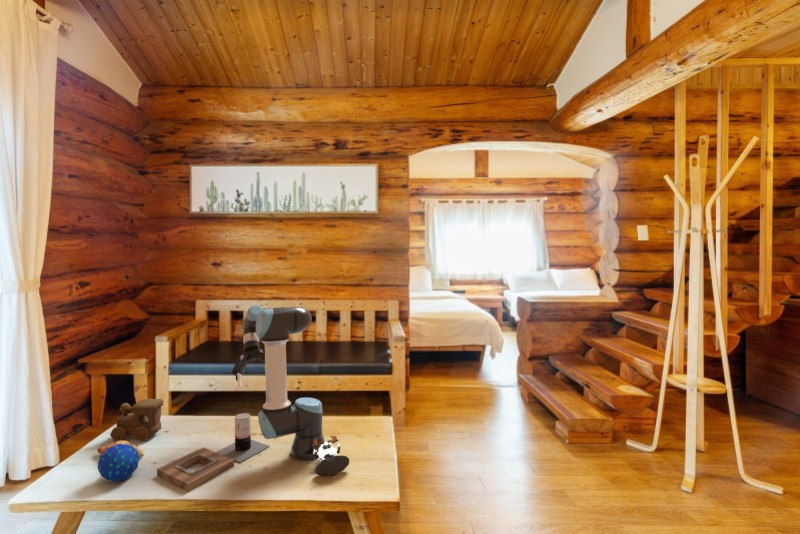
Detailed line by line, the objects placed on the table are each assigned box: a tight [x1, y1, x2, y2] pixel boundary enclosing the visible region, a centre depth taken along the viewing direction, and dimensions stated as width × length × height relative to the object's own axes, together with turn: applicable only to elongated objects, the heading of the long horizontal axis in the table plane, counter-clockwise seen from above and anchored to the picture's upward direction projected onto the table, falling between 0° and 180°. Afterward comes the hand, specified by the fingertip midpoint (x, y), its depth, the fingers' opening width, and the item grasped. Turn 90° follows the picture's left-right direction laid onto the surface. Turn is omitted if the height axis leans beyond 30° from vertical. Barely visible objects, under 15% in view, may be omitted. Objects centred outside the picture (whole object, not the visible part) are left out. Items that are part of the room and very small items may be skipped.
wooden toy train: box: [109, 398, 165, 442], centre depth 191 cm, size 20×11×17 cm, turn 92°
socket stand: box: [156, 446, 235, 492], centre depth 163 cm, size 20×20×3 cm
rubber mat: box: [215, 439, 270, 464], centre depth 180 cm, size 16×16×1 cm
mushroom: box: [97, 444, 140, 483], centre depth 159 cm, size 14×14×15 cm
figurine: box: [312, 435, 350, 476], centre depth 168 cm, size 14×10×18 cm
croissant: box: [97, 440, 144, 459], centre depth 174 cm, size 21×10×8 cm, turn 84°
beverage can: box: [234, 412, 252, 452], centre depth 180 cm, size 7×7×15 cm
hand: (253, 382), depth 193 cm, fingers open, 13 cm apart
